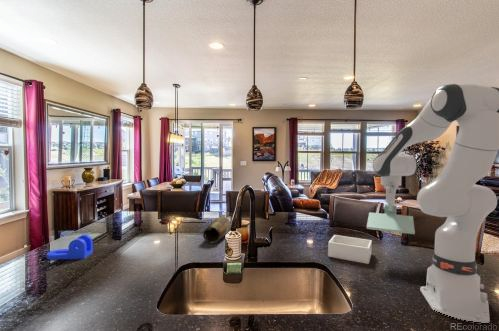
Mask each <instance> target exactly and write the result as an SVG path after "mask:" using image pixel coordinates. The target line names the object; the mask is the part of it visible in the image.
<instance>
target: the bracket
mask: <svg viewBox="0 0 499 331" xmlns="http://www.w3.org/2000/svg"><path fill="white" fill-rule="evenodd" d="M93 253H94V242H93V237H92V236H91V235H89V234H82V235H80V236H78V237H77V238H75V239H73V240H72V241H70V242H69V243H68V248H63V249H62V248H60V249H54V250H50V251H49V252H47V253H46V259H47V260H51V261H52V260H55V261H56V260H81V259H86V258H87V257H88V256H90V255H92V254H93Z"/></svg>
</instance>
